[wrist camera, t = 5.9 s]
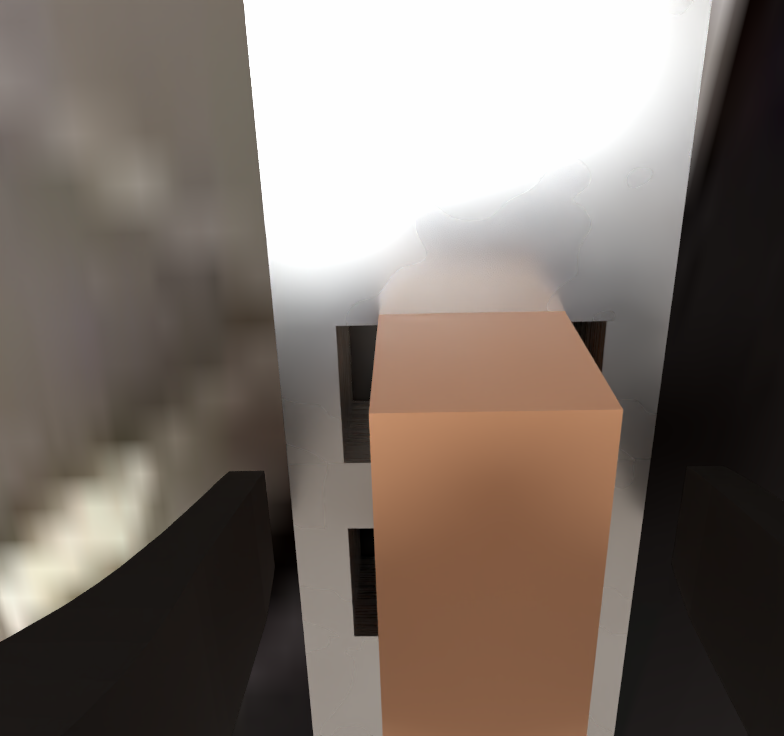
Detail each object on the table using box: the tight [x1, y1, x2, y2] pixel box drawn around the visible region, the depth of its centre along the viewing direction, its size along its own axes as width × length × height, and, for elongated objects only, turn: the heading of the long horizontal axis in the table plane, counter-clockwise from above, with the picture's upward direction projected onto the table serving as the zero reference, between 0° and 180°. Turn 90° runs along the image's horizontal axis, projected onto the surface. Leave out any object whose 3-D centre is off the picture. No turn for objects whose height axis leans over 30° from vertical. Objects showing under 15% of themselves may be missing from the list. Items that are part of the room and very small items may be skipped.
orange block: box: [369, 311, 623, 736], centre depth 13 cm, size 3×6×6 cm, turn 1°
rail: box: [244, 0, 712, 736], centre depth 14 cm, size 6×24×2 cm, turn 1°
